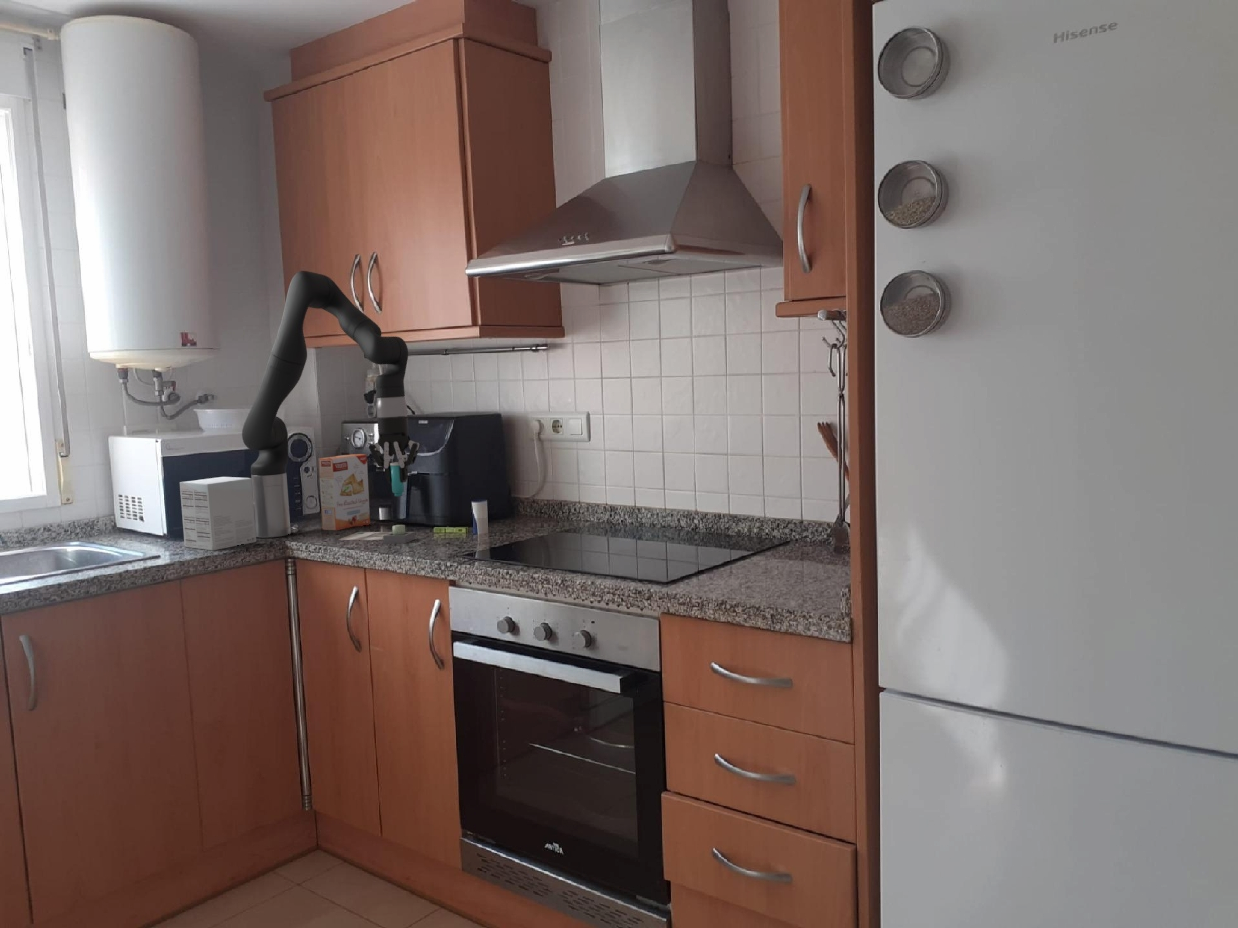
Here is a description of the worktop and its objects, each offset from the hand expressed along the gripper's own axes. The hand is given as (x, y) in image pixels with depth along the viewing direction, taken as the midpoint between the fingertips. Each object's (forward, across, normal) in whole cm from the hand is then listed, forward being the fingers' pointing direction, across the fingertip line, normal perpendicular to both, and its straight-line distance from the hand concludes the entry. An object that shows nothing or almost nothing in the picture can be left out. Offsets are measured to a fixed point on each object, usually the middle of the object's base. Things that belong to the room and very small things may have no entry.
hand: (397, 482), depth 252 cm
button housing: (+16, 0, 0) cm, 16 cm away
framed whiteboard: (+16, -11, +7) cm, 21 cm away
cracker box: (+16, -27, +24) cm, 39 cm away
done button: (+14, 0, -1) cm, 14 cm away
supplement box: (+15, -51, -2) cm, 53 cm away
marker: (+4, 0, 0) cm, 4 cm away
